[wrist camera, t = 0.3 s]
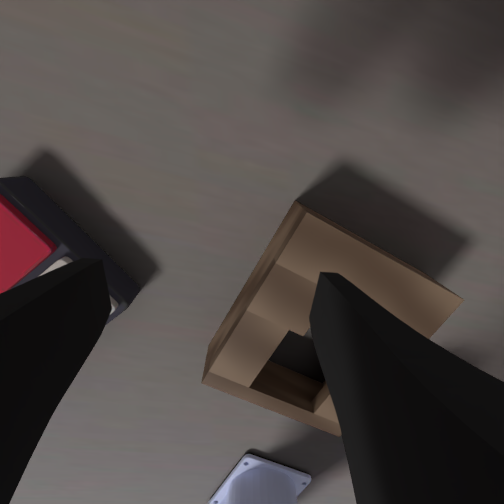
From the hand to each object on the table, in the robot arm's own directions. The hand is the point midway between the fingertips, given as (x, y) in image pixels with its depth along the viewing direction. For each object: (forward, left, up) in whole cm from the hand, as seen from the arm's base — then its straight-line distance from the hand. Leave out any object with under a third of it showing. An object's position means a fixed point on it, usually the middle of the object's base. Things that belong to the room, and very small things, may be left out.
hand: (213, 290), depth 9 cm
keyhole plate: (-4, -9, -11) cm, 15 cm away
